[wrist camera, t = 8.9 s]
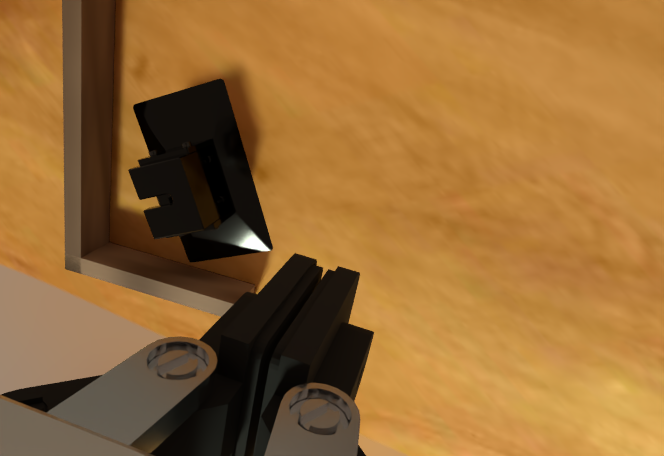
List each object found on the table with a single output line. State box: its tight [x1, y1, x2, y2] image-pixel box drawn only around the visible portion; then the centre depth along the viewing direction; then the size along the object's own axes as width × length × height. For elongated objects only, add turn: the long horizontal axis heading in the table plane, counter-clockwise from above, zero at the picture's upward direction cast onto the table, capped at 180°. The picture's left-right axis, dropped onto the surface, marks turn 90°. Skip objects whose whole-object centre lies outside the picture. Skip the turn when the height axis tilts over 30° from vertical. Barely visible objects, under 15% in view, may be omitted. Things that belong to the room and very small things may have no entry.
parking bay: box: [62, 0, 255, 317], centre depth 25 cm, size 10×18×2 cm, turn 169°
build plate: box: [128, 79, 273, 262], centre depth 26 cm, size 12×7×5 cm, turn 15°
